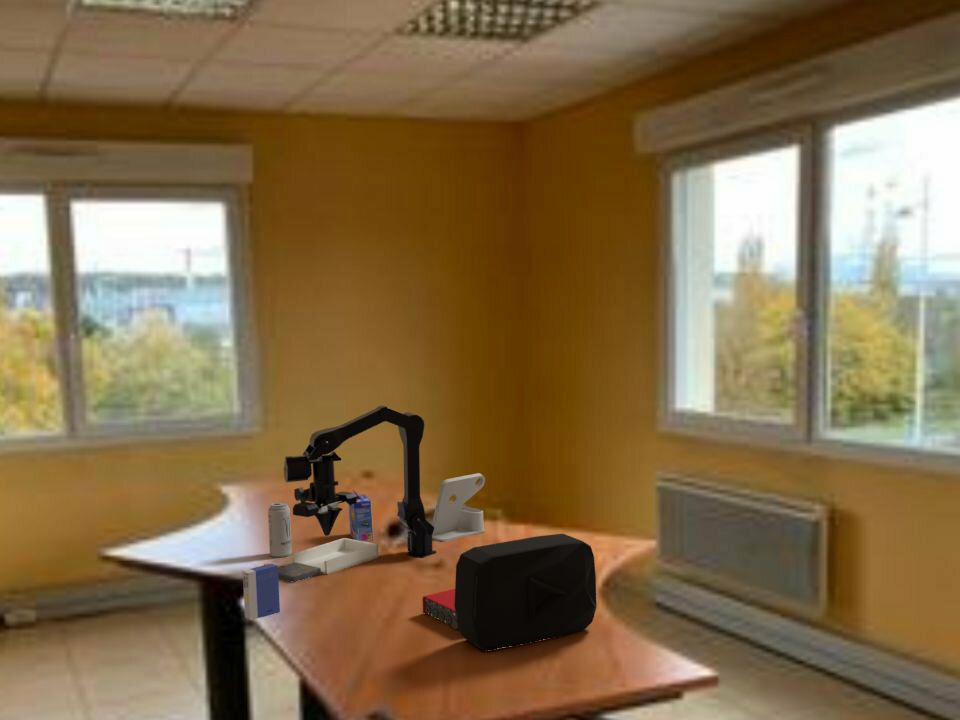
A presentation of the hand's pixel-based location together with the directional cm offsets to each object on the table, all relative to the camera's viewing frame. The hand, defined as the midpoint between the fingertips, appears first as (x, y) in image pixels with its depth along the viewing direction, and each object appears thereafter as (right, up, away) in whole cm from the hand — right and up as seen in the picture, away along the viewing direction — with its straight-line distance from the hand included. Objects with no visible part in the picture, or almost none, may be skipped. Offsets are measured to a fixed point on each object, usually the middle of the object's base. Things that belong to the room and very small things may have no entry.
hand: (326, 535), depth 266 cm
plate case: (+2, -8, +3) cm, 9 cm away
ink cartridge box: (+6, -6, +30) cm, 31 cm away
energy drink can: (-15, -8, +12) cm, 20 cm away
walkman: (-9, -12, -39) cm, 42 cm away
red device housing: (+39, -12, -44) cm, 60 cm away
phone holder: (+34, -5, +32) cm, 47 cm away
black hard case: (+52, -12, -57) cm, 78 cm away
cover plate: (-7, -10, -8) cm, 15 cm away
